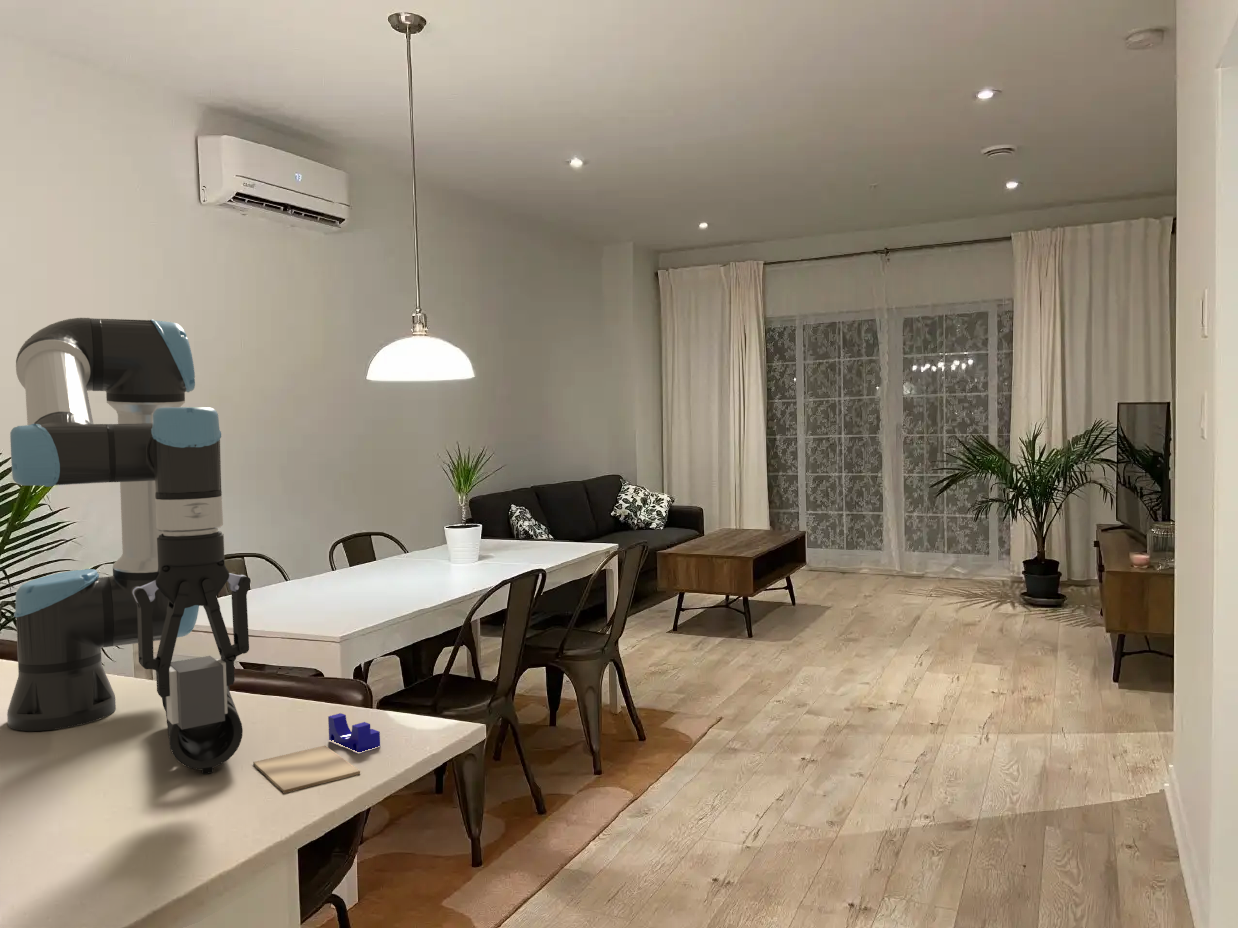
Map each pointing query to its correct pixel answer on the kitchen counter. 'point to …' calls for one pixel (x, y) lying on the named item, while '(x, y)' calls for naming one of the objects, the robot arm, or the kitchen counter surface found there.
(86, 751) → the kitchen counter surface
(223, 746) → the muzzle brake
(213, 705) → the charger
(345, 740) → the cable holder
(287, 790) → the mat
